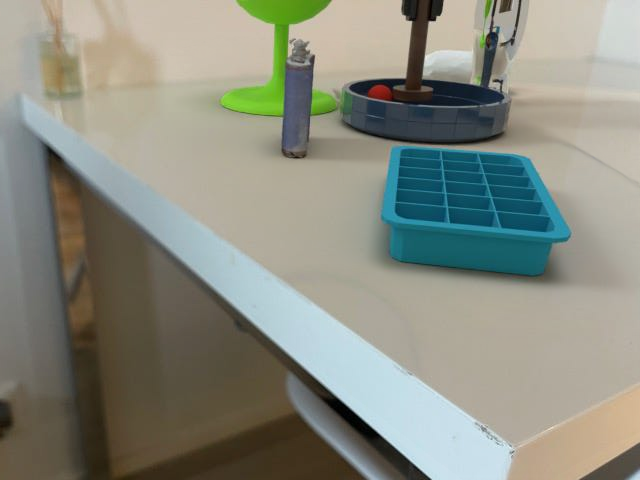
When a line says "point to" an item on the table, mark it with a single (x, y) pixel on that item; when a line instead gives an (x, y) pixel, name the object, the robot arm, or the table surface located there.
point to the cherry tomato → (380, 93)
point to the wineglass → (277, 58)
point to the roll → (448, 65)
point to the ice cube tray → (470, 210)
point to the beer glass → (496, 40)
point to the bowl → (427, 111)
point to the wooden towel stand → (416, 58)
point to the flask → (297, 99)
